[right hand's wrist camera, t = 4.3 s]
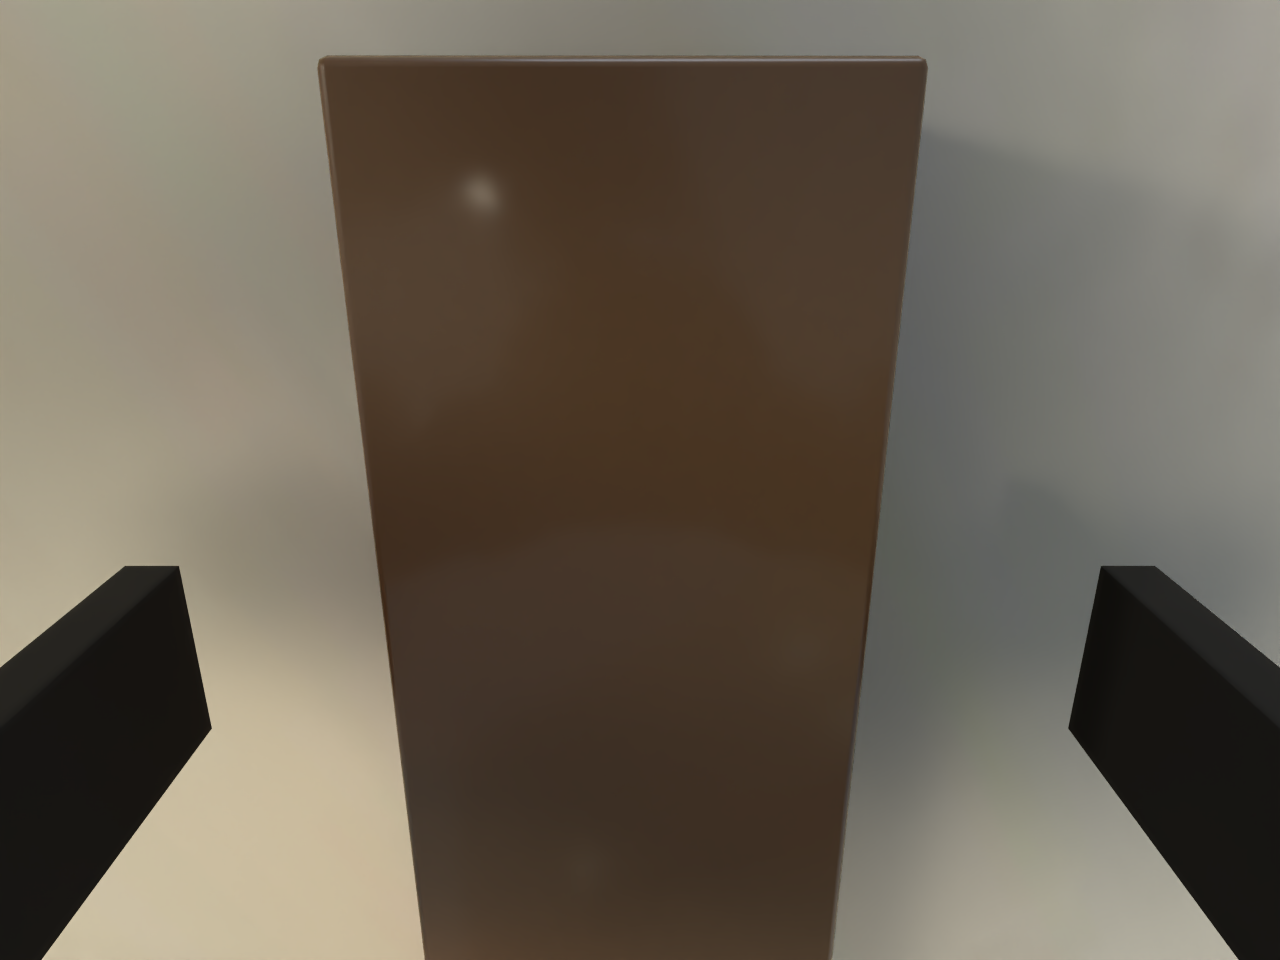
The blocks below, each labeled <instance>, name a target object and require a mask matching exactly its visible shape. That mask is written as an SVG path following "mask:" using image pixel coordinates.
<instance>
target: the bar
mask: <svg viewBox="0 0 1280 960" xmlns="http://www.w3.org/2000/svg"><path fill="white" fill-rule="evenodd" d="M317 70H318V78H319V87H320V95H321V103H322V112H323V120H324V128H325V136H326V145H327V153H328V161H329V170H330V178H331V186H332V194H333V203H334V211H335V219H336V228H337V236H338V244H339V252H340V261H341V269H342V277H343V286H344V294H345V302H346V310H347V319H348V327H349V335H350V344H351V352H352V360H353V368H354V377H355V385H356V393H357V402H358V410H359V418H360V426H361V435H362V443H363V451H364V460H365V468H366V476H367V484H368V493H369V501H370V509H371V518H372V526H373V534H374V542H375V551H376V559H377V567H378V576H379V584H380V592H381V600H382V609H383V617H384V625H385V634H386V642H387V650H388V658H389V667H390V675H391V683H392V692H393V700H394V708H395V716H396V725H397V733H398V741H399V750H400V758H401V766H402V774H403V783H404V791H405V799H406V808H407V816H408V824H409V832H410V841H411V849H412V857H413V866H414V874H415V882H416V890H417V899H418V907H419V915H420V924H421V932H422V940H423V948H424V957H425V960H832V954H833V945H834V936H835V927H836V917H837V908H838V899H839V889H840V880H841V871H842V862H843V852H844V843H845V834H846V824H847V815H848V806H849V797H850V787H851V778H852V769H853V760H854V750H855V741H856V732H857V722H858V713H859V704H860V695H861V685H862V676H863V667H864V657H865V648H866V639H867V630H868V620H869V611H870V602H871V592H872V583H873V574H874V565H875V555H876V546H877V537H878V528H879V518H880V509H881V500H882V490H883V481H884V472H885V463H886V453H887V444H888V435H889V425H890V416H891V407H892V398H893V388H894V379H895V370H896V360H897V351H898V342H899V333H900V323H901V314H902V305H903V296H904V286H905V277H906V268H907V258H908V249H909V240H910V231H911V221H912V212H913V203H914V193H915V184H916V175H917V166H918V156H919V147H920V138H921V128H922V119H923V110H924V101H925V91H926V82H927V73H928V66H927V63H926V59H924V58H921V57H919V56H325V57H323V58H321V59H319V63H318V67H317Z"/></svg>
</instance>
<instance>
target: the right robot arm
mask: <svg viewBox="0 0 1280 960" xmlns="http://www.w3.org/2000/svg"><path fill="white" fill-rule="evenodd" d="M211 729H212V727H211V722H210V718H209V713H208V708H207V703H206V698H205V693H204V688H203V683H202V678H201V673H200V668H199V663H198V658H197V653H196V648H195V643H194V638H193V633H192V628H191V624H190V619H189V614H188V609H187V604H186V599H185V594H184V589H183V584H182V579H181V574H180V569H179V566H125V567H123V568H122V569H121V570H120V571H118V572H117V573H116V574H115V575H113V576H112V577H111V578H110V579H109V580H107V581H106V582H105V583H104V584H102V585H101V586H100V587H99V588H98V589H96V590H95V591H94V592H93V593H91V594H90V595H89V596H88V597H86V598H85V599H84V600H83V601H82V602H80V603H79V604H78V605H77V606H75V607H74V608H73V609H72V610H70V611H69V612H68V613H67V614H66V615H64V616H63V617H62V618H61V619H59V620H58V621H57V622H56V623H55V624H53V625H52V626H51V627H50V628H48V629H47V630H46V631H45V632H43V633H42V634H41V635H40V636H39V637H37V638H36V639H35V640H34V641H32V642H31V643H30V644H29V645H27V646H26V647H25V648H24V649H23V650H21V651H20V652H19V653H18V654H16V655H15V656H14V657H13V658H12V659H10V660H9V661H8V662H7V663H5V664H4V665H3V666H2V667H0V960H42V958H43V957H44V955H45V954H46V953H47V951H48V950H49V949H50V947H51V946H52V945H53V943H54V942H55V941H56V939H57V938H58V936H59V935H60V934H61V932H62V931H63V930H64V928H65V927H66V926H67V924H68V923H69V921H70V920H71V919H72V917H73V916H74V915H75V913H76V912H77V911H78V909H79V908H80V907H81V905H82V904H83V902H84V901H85V900H86V898H87V897H88V896H89V894H90V893H91V892H92V890H93V889H94V888H95V886H96V885H97V883H98V882H99V881H100V879H101V878H102V877H103V875H104V874H105V873H106V871H107V870H108V869H109V867H110V866H111V864H112V863H113V862H114V860H115V859H116V858H117V856H118V855H119V854H120V852H121V851H122V850H123V848H124V847H125V845H126V844H127V843H128V841H129V840H130V839H131V837H132V836H133V835H134V833H135V832H136V831H137V829H138V828H139V826H140V825H141V824H142V822H143V821H144V820H145V818H146V817H147V816H148V814H149V813H150V812H151V810H152V809H153V807H154V806H155V805H156V803H157V802H158V801H159V799H160V798H161V797H162V795H163V794H164V793H165V791H166V790H167V788H168V787H169V786H170V784H171V783H172V782H173V780H174V779H175V778H176V776H177V775H178V773H179V772H180V771H181V769H182V768H183V767H184V765H185V764H186V763H187V761H188V760H189V759H190V757H191V756H192V754H193V753H194V752H195V750H196V749H197V748H198V746H199V745H200V744H201V742H202V741H203V740H204V738H205V737H206V735H207V734H208V733H209V731H210V730H211ZM1068 729H1069V730H1070V731H1071V733H1072V734H1073V735H1074V737H1075V738H1076V740H1077V741H1078V742H1079V744H1080V745H1081V746H1082V748H1083V749H1084V750H1085V752H1086V753H1087V754H1088V756H1089V757H1090V759H1091V760H1092V761H1093V763H1094V764H1095V765H1096V767H1097V768H1098V769H1099V771H1100V772H1101V773H1102V775H1103V776H1104V778H1105V779H1106V780H1107V782H1108V783H1109V784H1110V786H1111V787H1112V788H1113V790H1114V791H1115V793H1116V794H1117V795H1118V797H1119V798H1120V799H1121V801H1122V802H1123V803H1124V805H1125V806H1126V807H1127V809H1128V810H1129V812H1130V813H1131V814H1132V816H1133V817H1134V818H1135V820H1136V821H1137V822H1138V824H1139V825H1140V826H1141V828H1142V829H1143V831H1144V832H1145V833H1146V835H1147V836H1148V837H1149V839H1150V840H1151V841H1152V843H1153V844H1154V845H1155V847H1156V848H1157V850H1158V851H1159V852H1160V854H1161V855H1162V856H1163V858H1164V859H1165V860H1166V862H1167V863H1168V864H1169V866H1170V867H1171V869H1172V870H1173V871H1174V873H1175V874H1176V875H1177V877H1178V878H1179V879H1180V881H1181V882H1182V883H1183V885H1184V886H1185V888H1186V889H1187V890H1188V892H1189V893H1190V894H1191V896H1192V897H1193V898H1194V900H1195V901H1196V902H1197V904H1198V905H1199V907H1200V908H1201V909H1202V911H1203V912H1204V913H1205V915H1206V916H1207V917H1208V919H1209V920H1210V921H1211V923H1212V924H1213V926H1214V927H1215V928H1216V930H1217V931H1218V932H1219V934H1220V935H1221V936H1222V938H1223V939H1224V941H1225V942H1226V943H1227V945H1228V946H1229V947H1230V949H1231V950H1232V951H1233V953H1234V954H1235V955H1236V957H1237V958H1238V960H1280V667H1278V666H1277V665H1276V664H1275V663H1273V662H1272V661H1271V660H1270V659H1268V658H1267V657H1266V656H1265V655H1264V654H1262V653H1261V652H1260V651H1259V650H1257V649H1256V648H1255V647H1254V646H1253V645H1251V644H1250V643H1249V642H1248V641H1246V640H1245V639H1244V638H1243V637H1241V636H1240V635H1239V634H1238V633H1237V632H1235V631H1234V630H1233V629H1232V628H1230V627H1229V626H1228V625H1227V624H1225V623H1224V622H1223V621H1222V620H1221V619H1219V618H1218V617H1217V616H1216V615H1214V614H1213V613H1212V612H1211V611H1210V610H1208V609H1207V608H1206V607H1205V606H1203V605H1202V604H1201V603H1200V602H1198V601H1197V600H1196V599H1195V598H1194V597H1192V596H1191V595H1190V594H1189V593H1187V592H1186V591H1185V590H1184V589H1182V588H1181V587H1180V586H1179V585H1178V584H1176V583H1175V582H1174V581H1173V580H1171V579H1170V578H1169V577H1168V576H1167V575H1165V574H1164V573H1163V572H1162V571H1160V570H1159V569H1158V568H1157V567H1155V566H1101V569H1100V574H1099V579H1098V584H1097V589H1096V594H1095V599H1094V604H1093V609H1092V614H1091V619H1090V624H1089V628H1088V633H1087V638H1086V643H1085V648H1084V653H1083V658H1082V663H1081V668H1080V673H1079V678H1078V683H1077V688H1076V693H1075V698H1074V703H1073V708H1072V713H1071V718H1070V722H1069V727H1068Z"/></svg>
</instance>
